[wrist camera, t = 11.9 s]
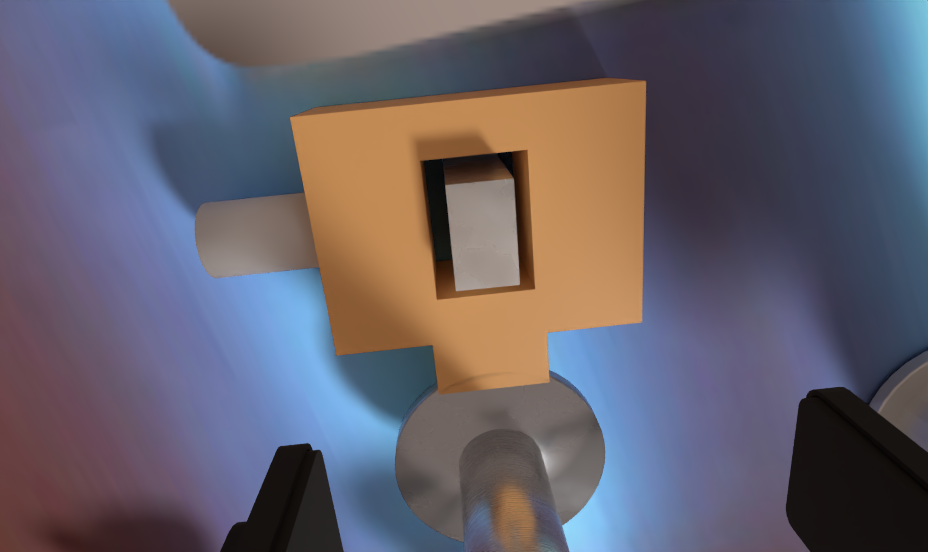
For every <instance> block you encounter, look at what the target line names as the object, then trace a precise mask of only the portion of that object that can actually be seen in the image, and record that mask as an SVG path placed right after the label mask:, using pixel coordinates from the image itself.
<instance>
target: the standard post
mask: <svg viewBox="0 0 928 552" xmlns="http://www.w3.org/2000/svg"><path fill="white" fill-rule="evenodd" d="M493 373H494V372H493ZM506 373H507V372H506ZM501 374H502V373H501ZM503 374H504V373H503ZM482 375H483V374H482ZM479 376H481V375H479ZM479 376H478V378H479ZM484 376H485V375H484ZM492 376H493V375H492ZM494 376H495V375H494ZM507 376H508V375H507ZM475 377H476V376H475ZM485 377H486V376H485ZM470 378H471V379H472V377H470ZM531 378H532V377H531ZM468 379H469V378H468ZM481 379H482V376H481ZM464 380H465V379H464ZM477 380H478V379H477ZM477 380H476V381H477ZM544 380H545V379H544ZM547 380H548V379H547ZM461 381H462V380H461ZM511 381H512V380H511ZM459 382H460V381H459ZM459 382H458V383H459ZM466 383H468V382H466ZM455 384H456V383H455ZM464 384H465V383H464ZM525 384H526V383H525ZM502 385H503V384H502ZM465 386H466V385H465ZM479 386H480V385H479ZM451 387H452V386H451ZM446 388H447V387H446ZM464 389H465V388H464ZM467 390H468V389H467ZM440 392H441V391H440ZM447 392H448V391H447ZM604 463H605V444H604V438H603V434H602V431H601V428H600V426H599V423H598V421H597V419H596V417H595V415H594V412H593V410H592V408H591V406H590V405H589V403H588V402H587V400H586V398H585V397H584V396H583V395H582V394H581V392H580V391H579V390H578V389H577V388H576V387H575V386H574V385H572V384H571V383H570V382H569V381H568V380H566V379H565V378H563V377H561V376H560V375H558V374H557V373H554V372H552V371H550V370H549V383H548V382H547V383H540V384H531V385H522V386H513V387H504V388H500V387H499V388H495V389H486V390H477V391H468V392H459V393H450V394H441V395H439V392H438V384H437V381H436V382H435V383H434V384H432V385H431V386H429V387H428V388H427V389H426V390H425V391H424V392H423V393H422V394H421V395H420V396H419V397H418V398H417V399H416V400H415V402H414V403H413V404H412V405H411V407H410V408H409V410H408V412H407V413H406V415H405V417H404V419H403V422H402V424H401V427H400V429H399V434H398V438H397V445H396V457H395V472H396V479H397V483H398V487H399V489H400V491H401V494H402V496H403V498H404V500H405V501H406V503H407V505H408V506H409V508H410V509H411V510H412V511H413V512H414V514H415V515H416V516H417V517H418V518H419V519H420V520H422V521H423V522H424V523H425V524H426V525H428V526H429V527H431V528H432V529H433V530H435V531H437V532H439V533H441V534H443V535H445V536H447V537H449V538H452V539H455V540H457V541H461V542H464V551H465V552H569V549H568V545H567V542H566V538H565V535H564V531H563V528H562V525H564V524H565V523H567V522H568V521H569V520H570V519H572V518H573V517H574V516H575V515H576V514H577V513H578V512H579V511H580V510H581V509H582V508H583V507H584V506H585V505H586V503H587V502H588V501H589V499H590V498H591V497H592V495H593V493H594V492H595V490H596V488H597V486H598V484H599V481H600V479H601V476H602V472H603V468H604Z"/></svg>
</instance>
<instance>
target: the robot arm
mask: <svg viewBox="0 0 928 552" xmlns="http://www.w3.org/2000/svg"><path fill="white" fill-rule="evenodd" d="M786 513H787V517H788V521H789V523H790V525H791V527H792V528H793V530H794V531H795V532H796V533H797V535H798V536H799V537H800V539H801V540H802V541H803V543H804V544H805V545H806V547H807V548H808V549H809V550H810V552H928V351H925V352H923V353H922V354H920V355H918V356H917V357H915V358H913V359H912V360H910V361H908V362H907V363H906V364H904V365H903V366H902V367H901V368H900V369H898V370H897V371H896V372H895V373H893V374H892V375H891V376H890V378H889V379H888V380H887V381H886V382H885V383H884V384H883V385H882V386H881V387H880V389H879V390H878V392H877V393H876V395H875V396H874V398H873V399H872V401H871V402H870V405H867V404H866V403H865V402H863V401H862V400H861V399H860V398H858V397H857V396H856V395H855V394H853V393H852V392H851V391H850V390H848V389H846V388H844V387H834V388H825V389H815V390H811V391H809V393H808V394H807V396H806V398H804V399H802V400H801V401H800V403H799V408H798V416H797V424H796V432H795V439H794V447H793V455H792V463H791V471H790V479H789V487H788V495H787V503H786ZM220 552H344V551H343V547H342V542H341V538H340V533H339V528H338V524H337V519H336V515H335V510H334V505H333V501H332V496H331V492H330V487H329V483H328V478H327V473H326V469H325V464H324V460H323V455H322V452H321V451H320V450H312V447H311V445H310V444H308V443H306V444H297V445H287V446H280V447H278V449H277V451H276V453H275V455H274V458H273V460H272V463H271V465H270V467H269V470H268V472H267V475H266V477H265V479H264V482H263V484H262V486H261V489H260V491H259V494H258V496H257V498H256V501H255V503H254V506H253V508H252V510H251V513H250V515H249V518H248V520H247V522H238V523H236V524H235V525H233V526H232V528H231V530H230V531H229V533H228V535H227V538H226V540H225V542H224V544H223V547H222V549H221V551H220Z"/></svg>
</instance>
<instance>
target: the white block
mask: <svg viewBox="0 0 928 552" xmlns="http://www.w3.org/2000/svg"><path fill="white" fill-rule="evenodd" d="M443 168H444V178H445V188H446V198H447V208H448V218H449V228H450V238H451V248H452V258H453V267H454V277H455V287H456V291H464V290H474V289H484V288H494V287H503V286H513V285H520V277H519V260H518V242H517V225H516V208H515V190H514V178H513V177H512V175H511V174H510V172H509V171H508V170H507V168H506V167H505V165H504V164H503V162H502V161H501V160H500V158H499V157H498V155H497V154H496V153H491V154H481V155H471V156H462V157H452V158H443Z"/></svg>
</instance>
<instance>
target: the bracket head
mask: <svg viewBox="0 0 928 552" xmlns="http://www.w3.org/2000/svg"><path fill="white" fill-rule="evenodd" d="M645 118H646V81H642V80H630V79H618V78H599V79H589V80H580V81H570V82H560V83H550V84H540V85H530V86H521V87H511V88H501V89H491V90H481V91H472V92H462V93H452V94H442V95H432V96H422V97H413V98H403V99H393V100H383V101H373V102H363V103H354V104H344V105H334V106H324V107H315V108H313V109H310V110H307V111H305V112H302V113H300V114H297V115H294V116H292V117H290V120H291V125H292V130H293V135H294V140H295V145H296V151H297V156H298V161H299V166H300V171H301V176H302V181H303V187H304V193H294V194H284V195H275V196H265V197H256V198H246V199H236V200H227V201H217V202H208V203H203V204H202V205H201V206H200V207H199V209H198V211H197V214H196V219H195V239H196V246H197V250H198V254H199V257H200V260H201V262H202V265H203V267H204V268H205V270H206V271H207V273H208V274H209V275H210V276H212V277H213V278H223V277H232V276H242V275H251V274H260V273H270V272H279V271H289V270H298V269H307V268H317V267H319V269H320V274H321V279H322V284H323V289H324V294H325V299H326V304H327V310H328V315H329V320H330V325H331V330H332V335H333V340H334V345H335V351H336V356H337V355H346V354H356V353H365V352H374V351H383V350H392V349H401V348H411V347H420V346H429V345H433V353H434V360H435V368H436V376H437V384H438V392H439V395H441V394H450V393H459V392H468V391H477V390H486V389H495V388H499V387H500V388H504V387H513V386H522V385H531V384H540V383H547V382H548V383H549V362H548V341H547V333H548V332H557V331H566V330H576V329H585V328H594V327H603V326H612V325H622V324H631V323H640V322H642V294H643V235H644V176H645ZM510 151H512V161H513V176H514V190H515V208H516V223H517V239H518V260H519V277H520V285H513V286H503V287H494V288H484V289H474V290H464V291H456V287H455V277H454V267H453V260H444V261H436V258H435V249H434V241H433V232H432V224H431V215H430V207H429V198H428V190H427V181H426V173H425V164H424V160H433V159H442V158H452V157H462V156H471V155H481V154H491V153H500V152H510ZM493 372H494V373H493ZM506 372H507V373H506ZM501 373H502V374H501ZM503 373H504V374H503ZM482 374H483V375H482ZM479 375H481V376H482V379H481V376H479ZM484 375H485V376H486V377H485V376H484ZM492 375H493V376H492ZM494 375H495V376H494ZM507 375H508V376H507ZM475 376H476V377H475ZM478 376H479V378H478ZM470 377H472V379H471V378H470ZM531 377H532V378H531ZM468 378H469V379H468ZM464 379H465V380H464ZM477 379H478V380H477ZM544 379H545V380H544ZM547 379H548V380H547ZM461 380H462V381H461ZM476 380H477V381H476ZM511 380H512V381H511ZM459 381H460V382H459ZM458 382H459V383H458ZM466 382H468V383H466ZM455 383H456V384H455ZM464 383H465V384H464ZM525 383H526V384H525ZM502 384H503V385H502ZM465 385H466V386H465ZM479 385H480V386H479ZM451 386H452V387H451ZM446 387H447V388H446ZM464 388H465V389H464ZM467 389H468V390H467ZM440 391H441V392H440ZM447 391H448V392H447Z"/></svg>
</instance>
